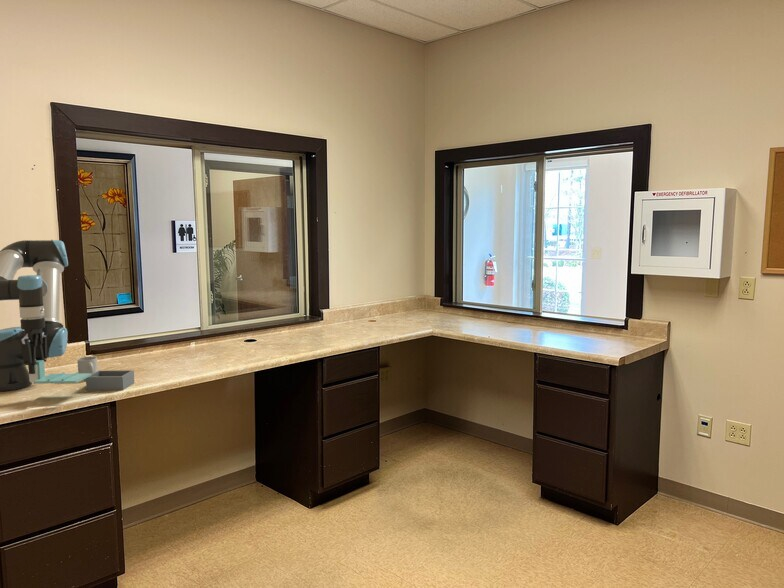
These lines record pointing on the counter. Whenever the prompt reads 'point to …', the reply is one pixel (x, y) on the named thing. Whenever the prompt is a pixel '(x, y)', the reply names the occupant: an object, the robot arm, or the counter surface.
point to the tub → (110, 380)
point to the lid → (57, 376)
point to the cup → (87, 365)
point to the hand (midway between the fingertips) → (37, 380)
